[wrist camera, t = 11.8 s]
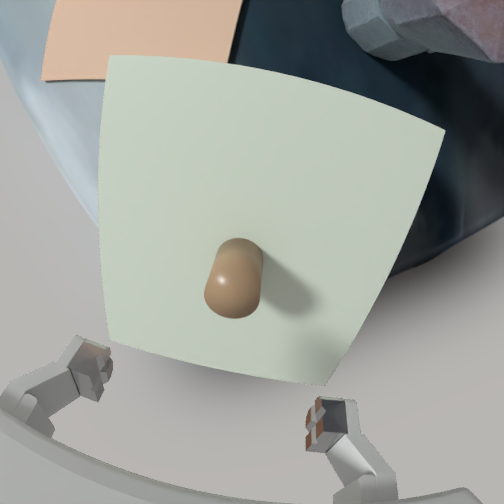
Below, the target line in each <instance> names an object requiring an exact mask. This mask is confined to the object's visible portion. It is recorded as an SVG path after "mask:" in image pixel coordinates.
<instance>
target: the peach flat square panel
mask: <svg viewBox="0 0 504 504" xmlns="http://www.w3.org/2000/svg"><path fill="white" fill-rule="evenodd" d="M242 3H243V0H56V3H55V7H54V11H53V15H52V19H51V24H50V28H49V33H48V38H47V43H46V49H45V55H44V61H43V68H42V75H41V81H48V80H71V79H106V74H107V68H108V62H109V56H110V55H141V56H162V57H177V58H188V59H198V60H206V61H214V62H221V63H228V61H229V57H230V52H231V48H232V44H233V39H234V35H235V31H236V27H237V23H238V19H239V15H240V11H241V7H242Z"/></svg>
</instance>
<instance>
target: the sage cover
mask: <svg viewBox="0 0 504 504" xmlns="http://www.w3.org/2000/svg"><path fill="white" fill-rule="evenodd" d="M444 134H445V130H443V129H441V128H439V127H437V126H435V125H433V124H431V123H428V122H426V121H424V120H422V119H419V118H417V117H415V116H412V115H410V114H408V113H405V112H403V111H400V110H398V109H395V108H393V107H390V106H388V105H385V104H382V103H380V102H377V101H374V100H371V99H369V98H366V97H363V96H360V95H357V94H354V93H351V92H348V91H345V90H341V89H338V88H335V87H331V86H328V85H325V84H321V83H317V82H314V81H310V80H306V79H302V78H298V77H294V76H290V75H286V74H281V73H277V72H272V71H267V70H262V69H257V68H252V67H246V66H241V65H235V64H228V63H221V62H214V61H206V60H198V59H188V58H177V57H162V56H141V55H110V56H109V62H108V68H107V74H106V82H105V89H104V97H103V107H102V117H101V129H100V144H99V166H98V223H99V245H100V260H101V273H102V284H103V293H104V302H105V310H106V317H107V325H108V331H109V338H110V340H111V341H114V342H117V343H121V344H124V345H127V346H131V347H134V348H137V349H141V350H144V351H148V352H151V353H155V354H158V355H162V356H166V357H170V358H174V359H178V360H182V361H186V362H190V363H194V364H198V365H203V366H207V367H212V368H216V369H221V370H226V371H231V372H236V373H241V374H247V375H252V376H257V377H264V378H270V379H276V380H283V381H289V382H297V383H303V384H311V385H319V386H325V385H326V384H327V383H328V381H329V379H330V378H331V376H332V375H333V373H334V372H335V370H336V368H337V367H338V365H339V363H340V362H341V360H342V359H343V357H344V355H345V354H346V352H347V350H348V349H349V347H350V345H351V344H352V342H353V340H354V339H355V337H356V335H357V333H358V332H359V330H360V328H361V326H362V324H363V323H364V321H365V319H366V317H367V315H368V314H369V312H370V310H371V308H372V306H373V304H374V302H375V300H376V299H377V297H378V295H379V293H380V291H381V289H382V287H383V285H384V283H385V281H386V279H387V277H388V275H389V273H390V271H391V269H392V267H393V264H394V262H395V260H396V258H397V256H398V254H399V252H400V249H401V247H402V245H403V243H404V240H405V238H406V236H407V234H408V231H409V229H410V227H411V224H412V222H413V220H414V217H415V215H416V212H417V210H418V207H419V205H420V202H421V200H422V197H423V195H424V192H425V189H426V187H427V184H428V181H429V179H430V176H431V173H432V170H433V167H434V164H435V161H436V158H437V156H438V152H439V149H440V146H441V143H442V140H443V137H444Z"/></svg>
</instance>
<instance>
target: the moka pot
mask: <svg viewBox="0 0 504 504" xmlns="http://www.w3.org/2000/svg"><path fill="white" fill-rule="evenodd" d="M341 7H342V15H343V20H344V25H345V28H346V31H347V33H348V34H349V35H350V37H351V38H352V39H353V40H354V41H355V42H356V43H357V44H358V45H359V46H360V47H361V49H363V50H364V51H365V52H367V53H369V54H371V55H373V56H376V57H379V58H382V59H385V60H389V61H397V60H400V59H403V58H407V57H410V56H413V55H417V54H419V53H422V52H425V51H426V52H428V53H434V52H440V53H447V54H453V55H458V56H463V57H468V58H473V59H477V60H482V61H486V62H490V63H504V0H344V1H343V3H342V6H341Z"/></svg>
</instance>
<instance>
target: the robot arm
mask: <svg viewBox="0 0 504 504" xmlns="http://www.w3.org/2000/svg"><path fill="white" fill-rule="evenodd" d="M110 354H111V351H110V348H109V347H106V346H104V345H101V344H98V343H96V342H93V341H90V340H88V339H86V338H83V337H81V336H78V335H76V336H74V337H73V338H72V339H71V341H70V342H69V344H68V345H67V347H66V348H65V350H64V352H63V353H62V354H61V356H60V357H59V359H58V360H57V362H56V363H55V362H51V363H49V364H47V365H45V366H43V367H41V368H38V369H36V370H34V371H32V372H30V373H28V374H26V375H23V376H21V377H19V378H17V379H15V380H13V381H11V382H9V384H8V385H7V387H6V389H5V390H4V392H3V393H2V395H1V396H0V504H289V503H276V502H275V503H274V502H264V501H255V500H247V499H240V498H234V497H227V496H222V495H216V494H211V493H206V492H201V491H196V490H192V489H188V488H183V487H179V486H175V485H172V484H168V483H164V482H161V481H157V480H154V479H151V478H147V477H144V476H141V475H138V474H135V473H132V472H129V471H126V470H124V469H121V468H118V467H115V466H113V465H110V464H108V463H105V462H102V461H100V460H97V459H95V458H93V457H90V456H88V455H86V454H84V453H81V452H79V451H77V450H75V449H73V448H71V447H68V446H66V445H64V444H62V443H60V442H58V441H56V440H54V439H52V438H51V437H52V435H53V432H54V431H55V428H54V426H53V424H52V423H51V421H50V420H49V418H48V417H49V416H51V415H53V414H54V413H56V412H57V411H59V410H60V409H62V408H63V407H65V406H66V405H68V404H69V403H71V402H72V401H74V400H75V399H77V398H78V397H80V396H83V397H86V398H88V399H91V400H93V401H96V402H98V401H99V399H100V397H101V395H102V393H103V391H104V387H103V384H104V383H106V382H108V381H109V379H110V377H111V374H112V370H113V361H112V359H111V358H110V357H109V356H110ZM306 429H307V430H308V431H309V434H308V435H307V436H306V451H309V452H320V453H326V456H327V458H328V459H329V461H330V463H331V465H332V466H333V468H334V470H335V471H336V473H337V475H338V476H339V478H340V480H341V481H342V483H343V485H344V486H345V487H344V488H343V489H342V490H340V491H338V492H337V493H336V494H334V495H333V504H482V502H481V501H480V500H479V499H478V498H477V497H476V496H475V495H474V494H473V493H472V492H471V491H470V490H469V489H467V488H464V487H463V488H457V489H453V490H449V491H444V492H440V493H435V494H430V495H425V496H420V497H413V498H407V499H400V500H398V491H397V483H396V475H395V472H394V471H393V470H392V468H391V467H390V466H389V465H388V463H387V462H386V461H385V460H384V459H383V457H382V456H381V455H380V454H379V452H378V451H377V450H376V449H375V447H374V446H373V445H372V444H371V443H370V441H369V440H368V439H367V438H366V436H365V435H362V434H361V431H360V424H359V416H358V409H357V403H356V401H355V400H351V399H342V398H332V397H322V396H319V397H317V399H316V400H315V405H314V406H312V407H311V408H310V409H309V411H308V414H307V417H306Z"/></svg>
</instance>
